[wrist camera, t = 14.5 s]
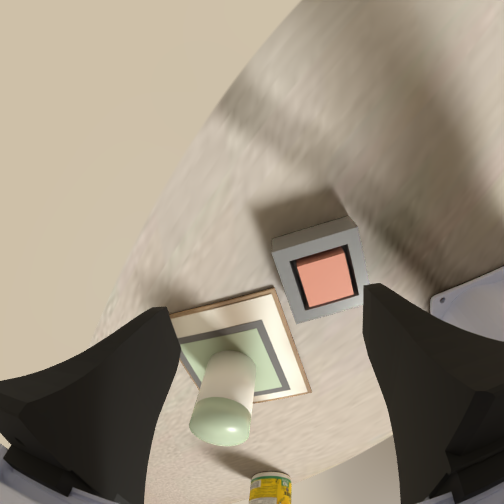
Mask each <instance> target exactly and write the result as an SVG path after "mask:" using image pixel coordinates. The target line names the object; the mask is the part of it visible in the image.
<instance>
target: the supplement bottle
mask: <svg viewBox="0 0 504 504" xmlns="http://www.w3.org/2000/svg"><path fill="white" fill-rule="evenodd" d="M291 485H292V484H291V478H290V477H289V476H288V475H286V474H283V473H280V472H262V473H258V474H256V475H254V476H253V477H252V480H251V487H250V498H249V504H291Z"/></svg>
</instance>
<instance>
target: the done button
mask: <svg viewBox="0 0 504 504" xmlns="http://www.w3.org/2000/svg"><path fill="white" fill-rule="evenodd" d="M296 263H297V269H298V272H299V275H300V278H301V281H302V285H303V288H304V291H305V294H306V297H307V301H308V304H309V307H312V306H316V305H319V304H323V303H326V302H330V301H333V300H336V299H340V298H343V297H347V296H350V295H353V294H354V293H353V288H352V284H351V279H350V275H349V270H348V266H347V262H346V258H345V254H344V251H343V249H342V247H341V246H339V247H336V248H332V249H329V250H326V251H322V252H319V253H316V254H312V255H309V256H305V257H302V258H299V259H296Z"/></svg>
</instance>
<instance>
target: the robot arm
mask: <svg viewBox="0 0 504 504" xmlns="http://www.w3.org/2000/svg"><path fill="white" fill-rule="evenodd" d="M441 298H443V299H442V300H441V301H440V299H441ZM363 336H364V341H365V345H366V349H367V353H368V356H369V359H370V362H371V364H372V367H373V370H374V372H375V375H376V377H377V380H378V383H379V385H380V388H381V391H382V394H383V396H384V399H385V402H386V405H387V409H388V412H389V417H390V421H391V426H392V431H393V437H394V443H395V449H396V455H397V463H398V472H399V481H400V497H401V504H504V266H503V267H501V268H499V269H496V270H494V271H492V272H490V273H488V274H485V275H483V276H481V277H478V278H476V279H474V280H471V281H469V282H467V283H464V284H462V285H459V286H457V287H454V288H452V289H449V290H447V291H444V292H442V293H439V294H436V295H434V296H433V297H432V298H431V300H430V313H428V312H426V311H424V310H422V309H421V308H419V307H417V306H416V305H414V304H412V303H411V302H409V301H408V300H406V299H405V298H403V297H401V296H400V295H398V294H397V293H395V292H394V291H392V290H391V289H389V288H388V287H386V286H384V285H383V284H381V283H376V284H370V285H363ZM180 354H181V346H180V344H179V341H178V338H177V335H176V333H175V330H174V327H173V324H172V321H171V319H170V316H169V313H168V310H167V307H153V308H151V309H149V310H147V311H145V312H143V313H142V314H140V315H139V316H137V317H136V318H134V319H133V320H131V321H130V322H128V323H127V324H126V325H124V326H123V327H121V328H120V329H118V330H117V331H115V332H114V333H113V334H111V335H109V336H108V337H106V338H105V339H103V340H102V341H100V342H99V343H97V344H96V345H94V346H92V347H91V348H89V349H87V350H86V351H84V352H82V353H80V354H79V355H76V356H74V357H72V358H70V359H68V360H66V361H64V362H62V363H59V364H57V365H55V366H52V367H50V368H47V369H45V370H42V371H39V372H36V373H33V374H29V375H26V376H22V377H18V378H13V379H8V380H3V381H0V433H1V434H2V435H3V436H4V437H5V438H6V440H7V441H8V442H9V443H10V444H11V447H10V448H9V449H7V448H6V447H4V446H3V445H2V444H0V504H144V493H145V481H146V473H147V466H148V460H149V454H150V449H151V444H152V440H153V435H154V431H155V427H156V423H157V420H158V417H159V414H160V412H161V409H162V407H163V404H164V402H165V399H166V397H167V394H168V392H169V389H170V387H171V384H172V381H173V379H174V376H175V373H176V371H177V367H178V363H179V358H180Z"/></svg>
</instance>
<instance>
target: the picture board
mask: <svg viewBox="0 0 504 504" xmlns="http://www.w3.org/2000/svg"><path fill="white" fill-rule="evenodd" d="M169 316H170V319H171V321H172V324H173V327H174V330H175V333H176V335H177V338H178V341H179V344H180V346H181V354H180V358H179V360H180V361H181V363H182V364H183V366H184V368H185V369H186V371H187V372H188V374H189V375H190V377H191V379H192V380H193V382H194V383H195V385H196V386H197V388H198V389H199V390H200V387H201V384H202V380H203V377H204V374H205V371H206V367H207V364H208V361H209V359H210V357H211V356H212V355H214V354H215V353H217V352H220V351H226V350H231V351H237V352H240V353H243V354H245V355H247V356H248V357H249V358H251V359H252V360H253V362H254V363H255V365H256V379H255V388H254V397H253V403H260V402H266V401H272V400H277V399H283V398H288V397H293V396H298V395H303V394H307V393H312V391H311V388H310V385H309V382H308V379H307V377H306V374H305V371H304V368H303V365H302V363H301V360H300V357H299V354H298V351H297V349H296V346H295V343H294V340H293V337H292V335H291V332H290V329H289V326H288V324H287V321H286V318H285V315H284V312H283V310H282V307H281V304H280V301H279V299H278V296H277V293H276V290H275V288H270V289H266V290H263V291H259V292H255V293H252V294H248V295H244V296H240V297H237V298H233V299H229V300H225V301H221V302H217V303H213V304H209V305H205V306H201V307H197V308H193V309H189V310H185V311H181V312H177V313H173V314H169Z"/></svg>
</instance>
